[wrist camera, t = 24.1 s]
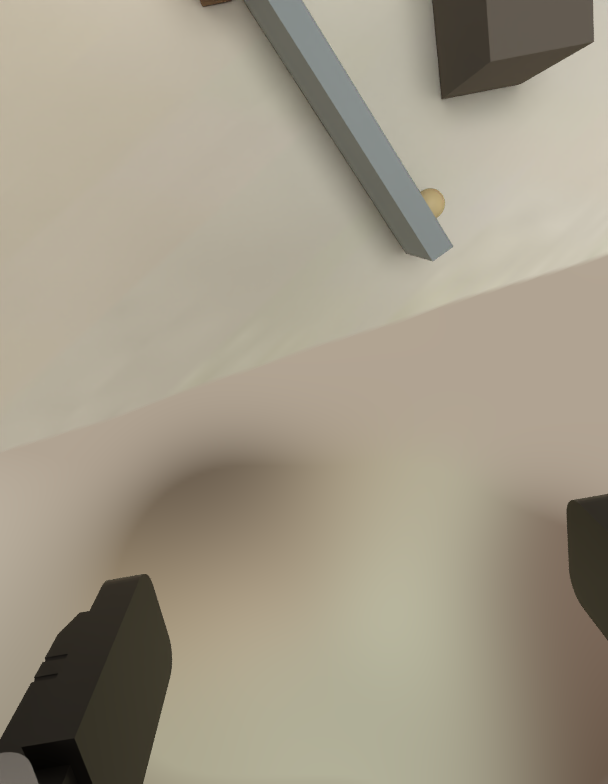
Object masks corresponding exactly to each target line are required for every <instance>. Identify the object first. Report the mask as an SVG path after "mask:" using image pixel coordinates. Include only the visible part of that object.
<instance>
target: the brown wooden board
mask: <svg viewBox="0 0 608 784" xmlns="http://www.w3.org/2000/svg"><path fill="white" fill-rule="evenodd" d="M227 1H232V0H200V2H201V4H202V6H207V5H212V4H217V3H222V2H227Z"/></svg>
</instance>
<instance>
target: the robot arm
mask: <svg viewBox="0 0 608 784" xmlns="http://www.w3.org/2000/svg"><path fill="white" fill-rule="evenodd" d="M567 533H568V554H569V573H570V578H571V582H572V586H573V589H574V592H575V594H576V597H577V599H578V600H579V602H580V604H581V606H582V607H583V608H584V610H585V611H586V612H587V614H588V615H589V616H590V618H591V619H592V620H593V622H594V623H595V624H596V626H597V627H598V628H599V629H600V630H601V632H602V633H603V635H604V636H605V637H606V639H607V640H608V494H605V495H600V496H593V497H588V498H582V499H576V500H571V501H570V502H569V503H568V505H567ZM171 669H172V651H171V644H170V639H169V635H168V633H167V629H166V626H165V623H164V619H163V616H162V613H161V610H160V606H159V603H158V600H157V597H156V593H155V590H154V587H153V584H152V581H151V579H150V578H149V576H148V575H147V574H141V575H135V576H130V577H124V578H119V579H113V580H108V581H105V583H104V584H103V585H102V587H101V589H100V591H99V593H98V595H97V597H96V599H95V601H94V603H93V605H92V607H91V609H90V611H87V612H81V613H79V614H78V615H77V616H76V617H75V618H74V619H73V620H72V621H71V622H70V623H69V624H68V625H67V626H66V627H65V628H64V629H63V630H62V631H61V632H60V633H59V634H58V635H57V637H56V639H55V641H54V642H53V644H52V646H51V648H50V650H49V652H48V653H47V655H46V657H45V662H43V663H42V664H41V666H40V668H39V670H38V672H37V673H36V675H35V677H34V678H35V681H34V682H32V683H31V684H30V686H29V688H28V690H27V691H26V693H25V695H24V697H23V699H22V701H21V703H20V704H19V706H18V708H17V710H16V712H15V713H14V715H13V717H12V719H11V721H10V722H9V724H8V726H7V728H6V730H5V732H4V733H3V735H2V737H1V739H0V784H143V781H144V777H145V773H146V769H147V766H148V761H149V758H150V754H151V750H152V746H153V742H154V738H155V734H156V730H157V726H158V722H159V718H160V714H161V710H162V706H163V703H164V699H165V695H166V691H167V687H168V683H169V679H170V675H171Z"/></svg>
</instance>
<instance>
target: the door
mask: <svg viewBox="0 0 608 784" xmlns="http://www.w3.org/2000/svg"><path fill="white" fill-rule="evenodd" d="M244 2H245V3H246V5H247V7H248V8H249V10H250V11H251V13H252V14H253V16H254V17H255V19H256V21H257V22H258V24H259V25H260V27H261V28H262V30H263V31H264V33H265V35H266V36H267V38H268V39H269V41H270V42H271V44H272V45H273V47H274V49H275V50H276V52H277V53H278V55H279V56H280V58H281V59H282V61H283V63H284V64H285V66H286V67H287V69H288V70H289V72H290V73H291V75H292V77H293V78H294V80H295V81H296V83H297V84H298V86H299V88H300V89H301V91H302V92H303V94H304V95H305V97H306V98H307V100H308V102H309V103H310V105H311V106H312V108H313V109H314V111H315V112H316V114H317V116H318V117H319V119H320V120H321V122H322V123H323V125H324V126H325V128H326V130H327V131H328V133H329V134H330V136H331V137H332V139H333V140H334V142H335V144H336V145H337V147H338V148H339V150H340V151H341V153H342V154H343V156H344V158H345V159H346V161H347V162H348V164H349V165H350V167H351V168H352V170H353V172H354V173H355V175H356V176H357V178H358V179H359V181H360V182H361V184H362V186H363V187H364V189H365V190H366V192H367V193H368V195H369V196H370V198H371V200H372V201H373V203H374V204H375V206H376V207H377V209H378V210H379V212H380V214H381V215H382V217H383V218H384V220H385V221H386V223H387V224H388V226H389V228H390V229H391V231H392V232H393V234H394V235H395V237H396V238H397V240H398V242H399V243H400V245H401V246H402V248H403V249H404V251H405V252H406V254H410V255H413V256H417V257H420V258H423V259H427V260H430V261H434V260H435V259H437V258H438V257H440V256H441V255H442V254H444V253H445V252H447V251H448V250H449V249H451V248H452V247H453V245H452V244H451V242H450V240H449V239H448V237H447V235H446V234H445V232H444V231H443V229H442V227H441V226H440V224H439V222H438V221H437V219H436V218H437V217H438V216H440V214H441V213H442V212H443V210H444V206H445V200H444V197H443V195H442V194H441V193H440V192H439V191H438V190H436V189H431V188H429V189H425V190H423V191H421V192H420V191H419V190H418V188H417V187H416V185H415V183H414V182H413V180H412V178H411V177H410V175H409V174H408V172H407V170H406V169H405V167H404V165H403V164H402V162H401V161H400V159H399V157H398V156H397V154H396V152H395V151H394V149H393V148H392V146H391V144H390V143H389V141H388V139H387V138H386V136H385V135H384V133H383V131H382V130H381V128H380V126H379V125H378V123H377V121H376V120H375V118H374V117H373V115H372V113H371V112H370V110H369V108H368V107H367V105H366V104H365V102H364V100H363V99H362V97H361V95H360V94H359V92H358V91H357V89H356V87H355V86H354V84H353V82H352V81H351V79H350V78H349V76H348V74H347V73H346V71H345V69H344V68H343V66H342V65H341V63H340V61H339V60H338V58H337V56H336V55H335V53H334V52H333V50H332V48H331V47H330V45H329V43H328V42H327V40H326V38H325V37H324V35H323V34H322V32H321V30H320V29H319V27H318V25H317V24H316V22H315V21H314V19H313V17H312V16H311V14H310V12H309V11H308V9H307V8H306V6H305V4H304V3H303V1H302V0H244Z"/></svg>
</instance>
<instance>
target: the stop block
mask: <svg viewBox="0 0 608 784" xmlns="http://www.w3.org/2000/svg"><path fill="white" fill-rule="evenodd" d="M433 9H434V20H435V30H436V41H437V51H438V62H439V72H440V83H441V94H442V99H445V98H450V97H455V96H461V95H466V94H471V93H476V92H481V91H487V90H492V89H497V88H502V87H507V86H513V85H518V84H521V83H523V82H525V81H527V80H528V79H530V78H532V77H533V76H535V75H537V74H539V73H540V72H542V71H544V70H546V69H547V68H549V67H551V66H553V65H554V64H556V63H558V62H560V61H561V60H563V59H565V58H566V57H568V56H570V55H572V54H573V53H575V52H577V51H579V50H580V49H582V48H584V47H586V46H587V45H589V44H591V43H593V42H594V27H593V0H433Z"/></svg>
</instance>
